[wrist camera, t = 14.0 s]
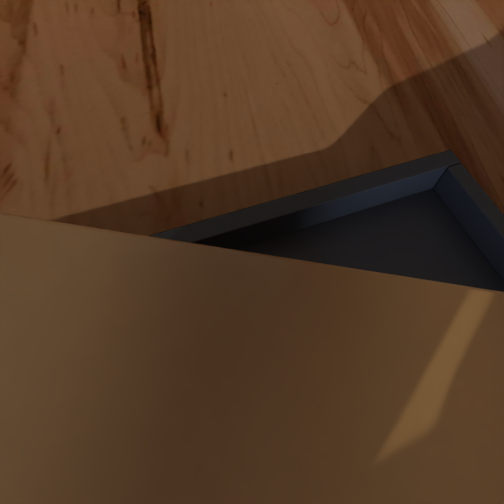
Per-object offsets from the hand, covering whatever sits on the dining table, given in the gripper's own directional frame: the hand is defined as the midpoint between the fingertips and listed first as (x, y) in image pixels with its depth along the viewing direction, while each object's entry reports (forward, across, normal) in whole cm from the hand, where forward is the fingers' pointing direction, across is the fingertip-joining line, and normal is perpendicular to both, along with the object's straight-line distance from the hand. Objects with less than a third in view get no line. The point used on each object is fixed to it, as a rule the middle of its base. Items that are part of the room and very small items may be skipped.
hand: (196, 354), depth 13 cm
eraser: (0, 0, -4) cm, 4 cm away
